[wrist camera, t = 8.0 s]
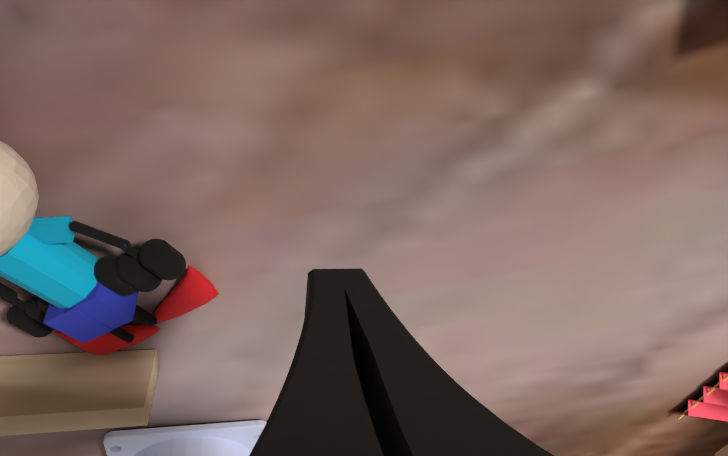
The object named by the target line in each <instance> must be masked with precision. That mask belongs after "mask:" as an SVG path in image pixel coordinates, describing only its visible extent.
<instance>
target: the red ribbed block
mask: <svg viewBox="0 0 728 456" xmlns="http://www.w3.org/2000/svg"><path fill="white" fill-rule="evenodd" d="M718 386H719V388H717V387H718ZM702 400H703V402H702ZM687 412H688V414H686V413H687ZM673 413H676V412H673ZM678 414H681V415H680V416H678V417H677V419H680V418H682V417H683V416H684V415H688V416H694V417H701V418H708V419H714V420H721V421H728V373H725V372H719V382H718V383H717V384H716V385H715V386H714V387H708V386H703V396H702V397H701V398H699V399H698V400H697V401H696V400H690V399H688V409H687V410H685V411H684V412H683V413H678ZM714 456H728V444H727V445H726V446H724V447H723V448H722V449H720V450H719V451H718V452H717V453H715V454H714Z"/></svg>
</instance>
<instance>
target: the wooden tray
mask: <svg viewBox="0 0 728 456" xmlns="http://www.w3.org/2000/svg"><path fill="white" fill-rule="evenodd" d="M158 372H159V361H158V355H157V349H155V350H131V351H115V352H112V353H109V354H105V355H96V354H91V353H88V352H84V353H61V354H38V355H14V356H0V436H10V435H23V434H37V433H50V432H64V431H78V430H91V429H105V428H119V427H132V426H146V425H148V420H149V415H150V411H151V406H152V401H153V396H154V391H155V386H156V381H157V377H158Z"/></svg>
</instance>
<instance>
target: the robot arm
mask: <svg viewBox="0 0 728 456" xmlns="http://www.w3.org/2000/svg"><path fill="white" fill-rule="evenodd" d="M103 444H104V447H105V451H106V454H107V456H554V455H552V454H550V453H549V452H547V451H545V450H544V449H542V448H541V447H539V446H537V445H536V444H534V443H533V442H532V441H530V440H529V439H527V438H526V437H524V436H523V435H522V434H520V433H519V432H517V431H516V430H514V429H513V428H512V427H510V426H509V425H507V424H506V423H505V422H503V421H502V420H501V419H500V418H498V417H497V416H496V415H495V414H493V413H492V412H491V411H490V410H488V409H487V408H486V407H485V406H483V405H482V404H481V403H480V402H478V401H477V400H476V399H475V398H473V397H472V396H471V395H470V394H469V393H468V392H466V391H465V390H464V389H463V388H462V387H461V386H460V385H459V384H457V383H456V382H455V381H454V380H453V379H452V378H451V377H450V376H449V375H448V374H447V373H446V372H445V371H444V370H443V369H442V368H441V367H440V366H439V365H438V364H437V363H436V362H435V361H434V360H433V359H432V358H431V357H430V356H429V355H428V353H427V352H426V351H425V350H424V349H423V348H422V347H421V346H420V345H419V343H418V342H417V341H416V340H415V339H414V338H413V336H412V335H411V334H410V333H409V332H408V330H407V329H406V328H405V327H404V325H403V324H402V323H401V322H400V320H399V319H398V318H397V317H396V315H395V314H394V313H393V312H392V310H391V309H390V308H389V306H388V305H387V303H386V302H385V301H384V299H383V298H382V297H381V295H380V294H379V292H378V291H377V289H376V288H375V286H374V285H373V284H372V282H371V281H370V279H369V277H368V276H367V274H366V273H365V272H364V271H363V270H362V269H313V270H312V271H310V272H309V273H308V281H307V294H306V307H305V320H304V324H303V329H302V333H301V336H300V339H299V343H298V346H297V349H296V352H295V355H294V358H293V361H292V364H291V367H290V370H289V372H288V375H287V378H286V380H285V383H284V385H283V387H282V390H281V392H280V395H279V397H278V399H277V401H276V404H275V406H274V408H273V410H272V412H271V414H270V417H269V419H268V421H267V422H265V421H263V420H252V421H239V422H226V423H212V424H199V425H185V426H172V427H158V428H145V429H132V430H118V431H111V432H109V433H107V434H106V435H105V438H104V441H103Z"/></svg>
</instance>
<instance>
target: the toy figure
mask: <svg viewBox="0 0 728 456" xmlns="http://www.w3.org/2000/svg"><path fill="white" fill-rule="evenodd" d="M38 199H39V196H38V190H37V185H36V181H35V177H34V174H33V172H32V171H31V169H30V167H29V165H28V164H27V163H26V162H25V161H24V160H23V158H22V157H21V156H20V155H19V154H18V153H17V152H15V151H14V150H13V149H12V148H11V147H10V146H9V145H7V144H5V143H3V142H1V141H0V276H1V277H3V278H5V279H7V280H8V281H10V282H12V283H14V284H16V285H18V286H19V287H21V288H23V289H25V290H27V291H29V292H31V293H32V294H34V295H36V296H37V297H33V298H31V299H30V300H28V301H27V303H25V302H23V301H21V300H20V299H18V298H17V297H18V294H17V292H16V291H14V290H12V289H10V288H9V287H7V286H5V285H3V284H2V283H0V297H1V298H2V299H4V300H5V301H7V302H9V303H11V304H12V305H14V306H12V307H11V308H10V309H9V310H8V312H7V315H6V316H7V320H8V322H9V323H10V324H12V325H14V326H16V327H18V328H20V329H21V330H23V331H25V332H27V333H29V334H31V335H33V336H35V337H44V336H47V335H48V334H50V333H51V332H52V330H58V331H54V332H55V333H56V334H58V335H59V336H61V337H62V338H64V339H66V340H67V341H69V342H70V343H72V344H74V345H75V346H77V347H79V348H81V349H82V350H84V351H86V352H88V353H91V354H96V355H105V354H109V353H112V352H115V351H118V350H121V349H123V348H126V347H129V346H131V345H134V344H136V343H138V342H140V341H143V340H145V339H146V338H148V337H150V336H152V335H153V334H155V333H156V332H157V331H158V330H159V329H160V328H158V327H157V326H152V325H154V324H156V323H159V322H162V321H166V320H169V319H172V318H175V317H178V316H181V315H183V314H185V313H187V312H189V311H191V310H193V309H195V308H198V307H200V306H202V305H204V304H206V303H207V302H209V301H210V300H212V299H213V298H215V297H216V296H217V295H218V292H217V290H216V289H215V288H214V286H213V285H212V283H211V282H210V281H209V280H207V279H206V278H205V277H204V276H203V275H202V274H201V273H200V272H198V271H197V270H196V269H195V268H193V267H192V266H190V265H188V269H187V272H186V274H185V275H184V277H183V278H182V279H181V281H180V282H179V283H178V284H177V285H176V287H175V288H174V289H173V290H172V291H171V292H170V294H169V295H168V296H167V297H166V298H165V299H164V301H163V302H162V303H161V304H160V305H159V306H158V307H157V309H156V310H155V311H154V313H153V315H152V314H151V313H149V312H148V311H146V310H144V309H143V308H141V307H140V306H138V305H137V304H136V302H137V296H138V291H142V292H149V291H152V290H154V289H156V288H157V287H158V286H159V285H160V283H161V281H162V279H163V280H173V279H176V278H178V277H179V276H180V275H181V274H183V272H184V270H185V267H186V262H185V259H184V257H183V255H182V254H181V253H180V252H178V251H177V250H176V249H175V248H173V247H172V246H171V245H170V244H168V243H167V242H166V241H164V240H160V239H152V240H149V241H147V242H145V243H144V244H143V245H142V246H141V248H140V251H139V252H138V251H137V250H135V249H134V248H132V247H131V244H130V242H129V241H127V240H125V239H122V238H119V237H117V236H114V235H111V234H109V233H106V232H103V231H101V230H98V229H95V228H93V227H90V226H87V225H85V224H82V223H79V222H77V221H73V220H72V218H71V217H70V216H63V217H48V218H37V217H35V212H36V209H37V205H38ZM76 232H77V233H80V234H83V235H85V236H88V237H91V238H94V239H96V240H99V241H102V242H105V243H107V244H110V245H113V246H115V247H118V248H121V249H122V250H123V251H125V252H126V253H124V254H122V255H121V256H120V257H116V256H107V257H103V258H102V259H99V258H97V257H96V256H94V255H93V254H91V253H90V252H88V251H86V250H85V249H83V248H82V247H80V246H79V245H77V244H76V243H74V242H73V239H74V236H75V233H76ZM134 316H136V317H138V318H139V319H141V320H142V321H144V322H146V323H147V324H149V325H128V326H122V325H124V324H126V323H129V322H131V321H133V319H134Z"/></svg>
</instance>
